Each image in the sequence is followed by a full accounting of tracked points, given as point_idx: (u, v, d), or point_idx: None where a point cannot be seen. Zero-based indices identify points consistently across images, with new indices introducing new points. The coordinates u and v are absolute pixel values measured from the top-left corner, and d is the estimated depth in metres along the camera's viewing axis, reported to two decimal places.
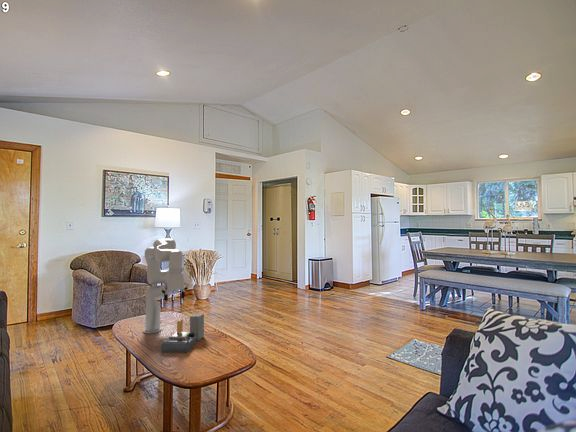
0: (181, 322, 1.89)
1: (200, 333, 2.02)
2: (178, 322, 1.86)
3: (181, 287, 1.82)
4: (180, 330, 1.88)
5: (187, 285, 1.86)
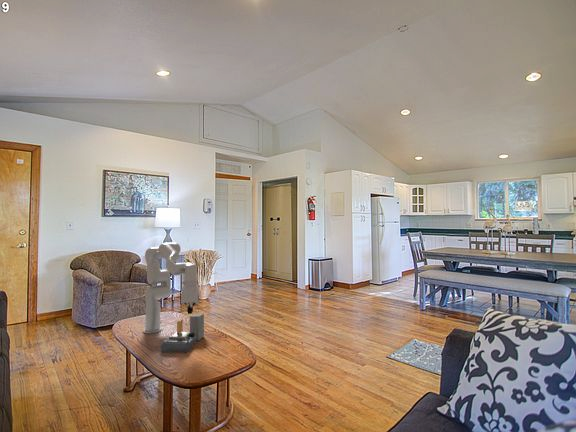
0: (181, 322, 1.89)
1: (200, 333, 2.02)
2: (178, 322, 1.86)
3: None
4: (180, 330, 1.88)
5: None
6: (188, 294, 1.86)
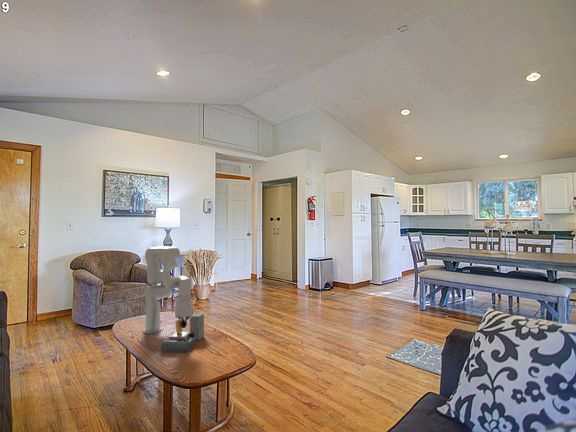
0: (180, 322, 1.89)
1: (200, 333, 2.02)
2: (177, 322, 1.86)
3: None
4: (180, 330, 1.88)
5: None
6: (182, 308, 1.86)
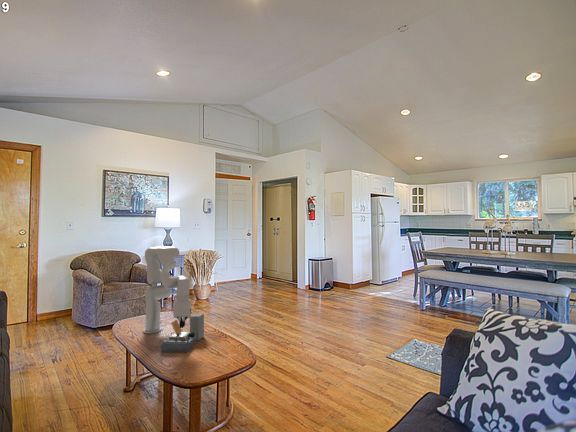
0: (176, 322, 1.89)
1: (200, 333, 2.02)
2: (172, 323, 1.86)
3: None
4: (178, 330, 1.88)
5: None
6: (180, 308, 1.86)
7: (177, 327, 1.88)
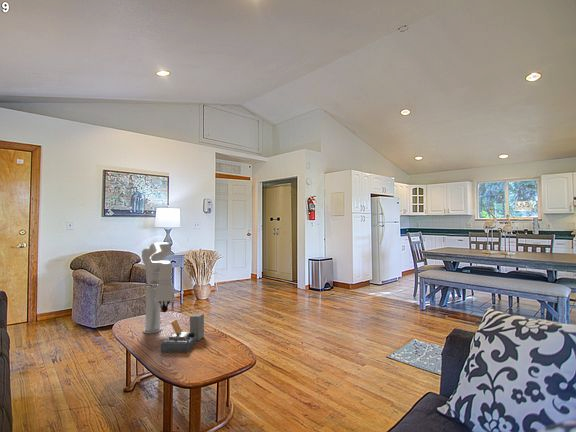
0: (176, 322, 1.89)
1: (200, 333, 2.02)
2: (172, 323, 1.86)
3: None
4: (178, 330, 1.88)
5: None
6: (162, 292, 1.87)
7: (177, 327, 1.88)
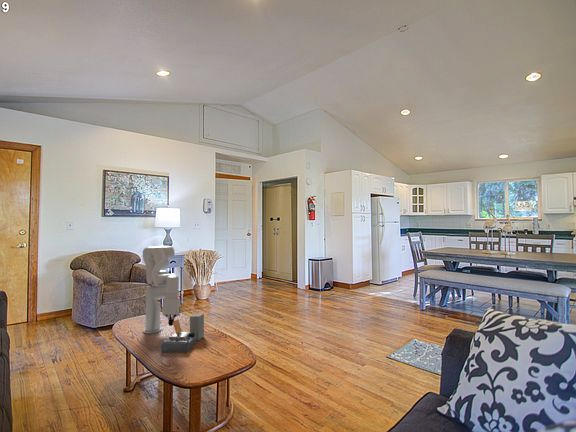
0: (177, 322, 1.89)
1: (200, 333, 2.02)
2: (174, 323, 1.86)
3: None
4: (179, 330, 1.88)
5: None
6: (169, 306, 1.86)
7: (178, 327, 1.88)
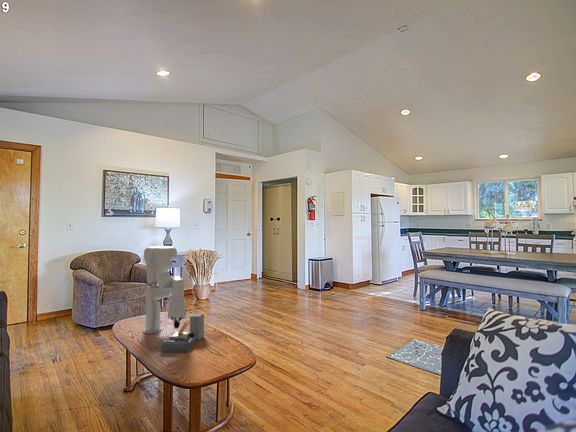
0: None
1: (200, 333, 2.02)
2: (185, 324, 1.86)
3: None
4: (182, 331, 1.88)
5: None
6: (175, 309, 1.86)
7: (184, 329, 1.88)
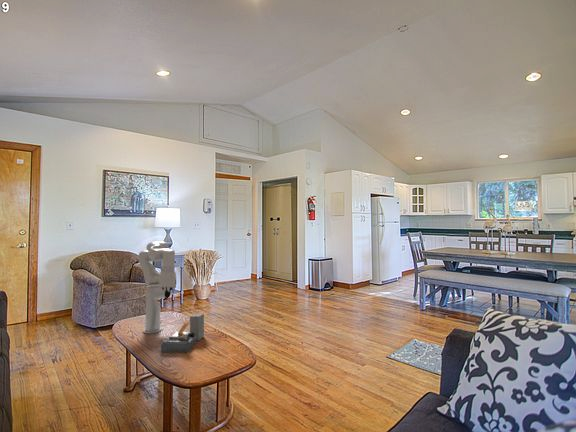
0: None
1: (200, 333, 2.02)
2: (185, 324, 1.86)
3: None
4: (182, 331, 1.88)
5: None
6: (165, 279, 1.93)
7: (184, 329, 1.88)
